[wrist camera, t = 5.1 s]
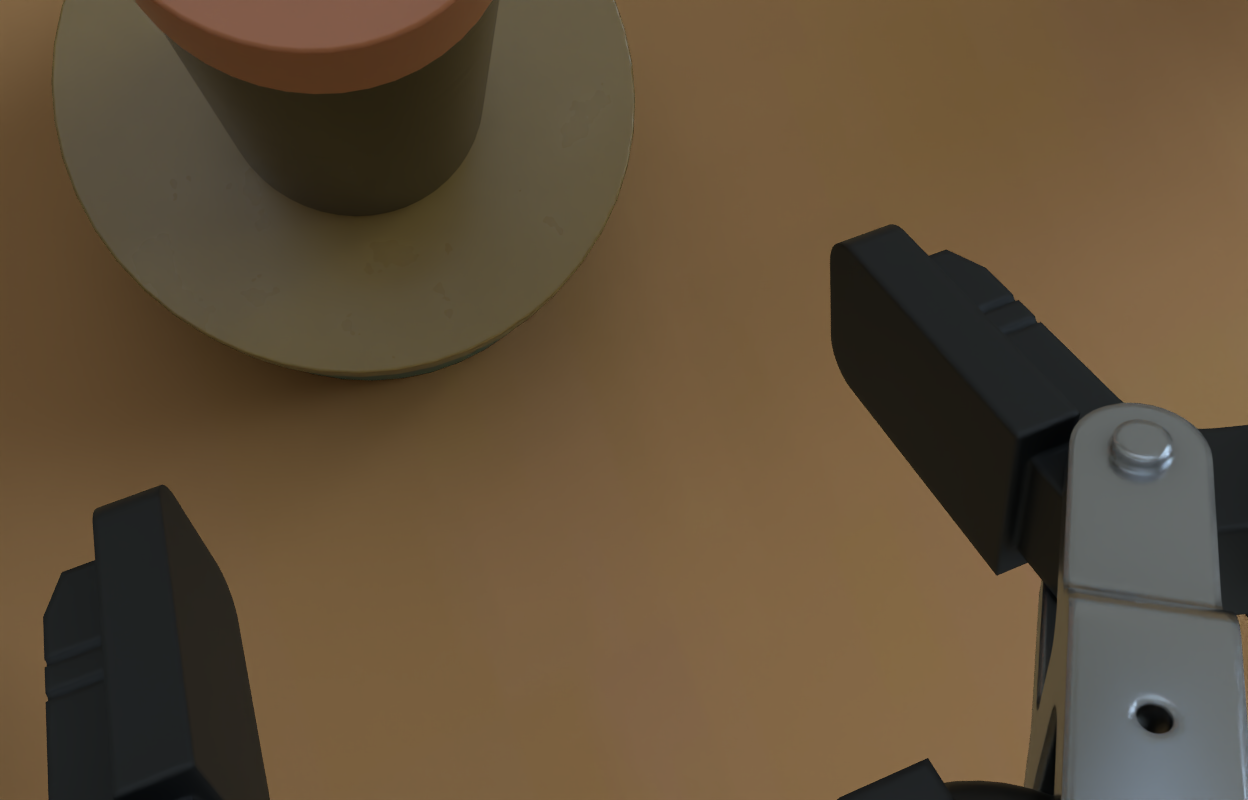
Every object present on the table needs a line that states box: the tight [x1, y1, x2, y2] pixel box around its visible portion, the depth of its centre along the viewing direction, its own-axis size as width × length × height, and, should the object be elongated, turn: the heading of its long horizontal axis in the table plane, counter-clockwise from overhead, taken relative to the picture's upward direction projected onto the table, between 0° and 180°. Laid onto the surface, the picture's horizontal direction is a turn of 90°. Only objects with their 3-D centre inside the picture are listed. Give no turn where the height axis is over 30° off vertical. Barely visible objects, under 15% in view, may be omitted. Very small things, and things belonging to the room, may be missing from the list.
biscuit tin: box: [51, 0, 635, 381], centre depth 29 cm, size 12×12×6 cm
